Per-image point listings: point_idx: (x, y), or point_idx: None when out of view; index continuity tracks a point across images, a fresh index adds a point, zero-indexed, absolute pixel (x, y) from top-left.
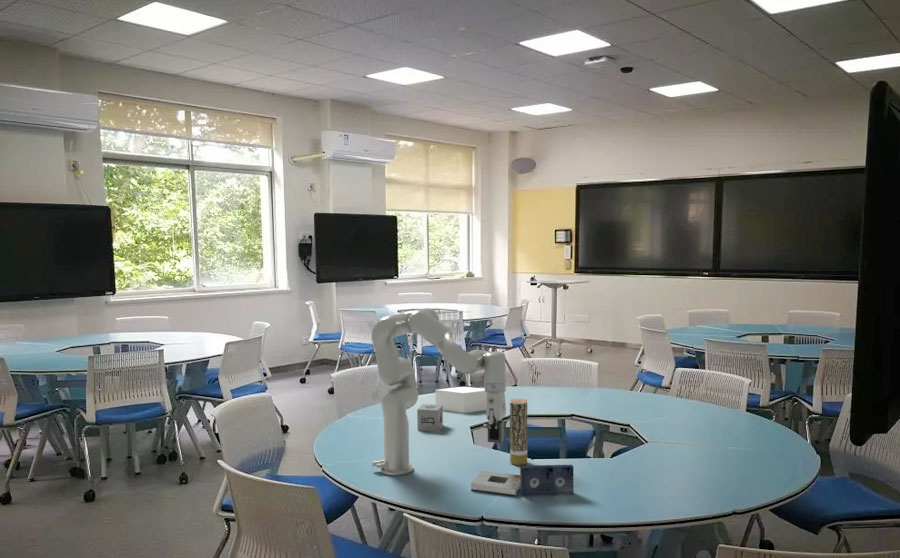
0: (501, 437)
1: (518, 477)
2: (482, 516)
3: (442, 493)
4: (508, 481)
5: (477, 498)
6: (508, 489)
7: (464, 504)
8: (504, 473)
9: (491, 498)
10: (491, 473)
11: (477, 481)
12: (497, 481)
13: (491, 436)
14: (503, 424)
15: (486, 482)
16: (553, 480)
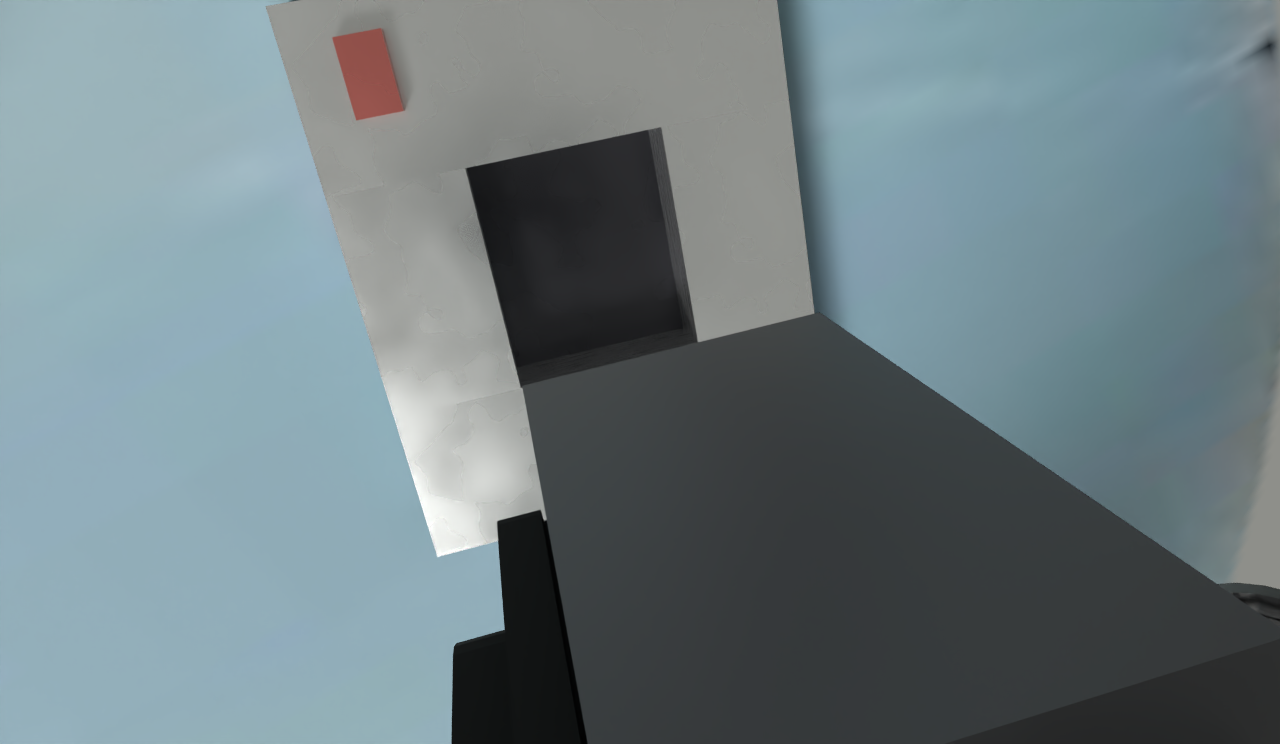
0: (868, 363)
1: (385, 45)
2: (1276, 40)
3: None
4: (576, 114)
5: (944, 278)
6: (773, 15)
7: (1100, 312)
8: (356, 285)
9: (892, 156)
10: (456, 419)
11: None
12: (499, 298)
13: None
14: (672, 661)
15: (734, 332)
16: None
